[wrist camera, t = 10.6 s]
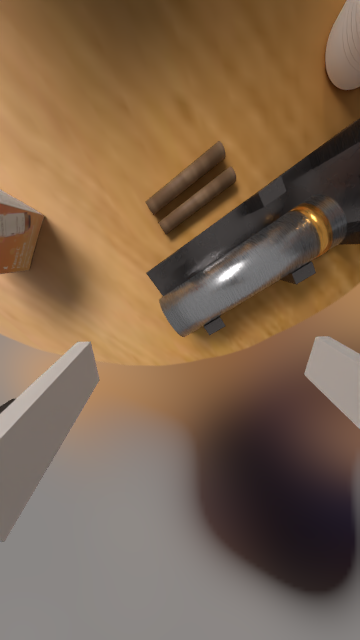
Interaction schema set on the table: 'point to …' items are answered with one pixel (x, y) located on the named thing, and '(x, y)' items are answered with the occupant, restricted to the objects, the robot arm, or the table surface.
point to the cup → (345, 48)
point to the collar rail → (275, 212)
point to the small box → (17, 234)
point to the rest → (189, 178)
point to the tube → (256, 263)
